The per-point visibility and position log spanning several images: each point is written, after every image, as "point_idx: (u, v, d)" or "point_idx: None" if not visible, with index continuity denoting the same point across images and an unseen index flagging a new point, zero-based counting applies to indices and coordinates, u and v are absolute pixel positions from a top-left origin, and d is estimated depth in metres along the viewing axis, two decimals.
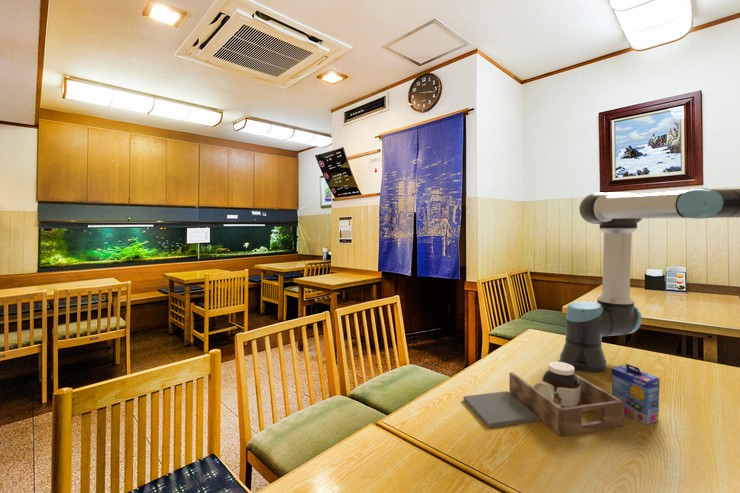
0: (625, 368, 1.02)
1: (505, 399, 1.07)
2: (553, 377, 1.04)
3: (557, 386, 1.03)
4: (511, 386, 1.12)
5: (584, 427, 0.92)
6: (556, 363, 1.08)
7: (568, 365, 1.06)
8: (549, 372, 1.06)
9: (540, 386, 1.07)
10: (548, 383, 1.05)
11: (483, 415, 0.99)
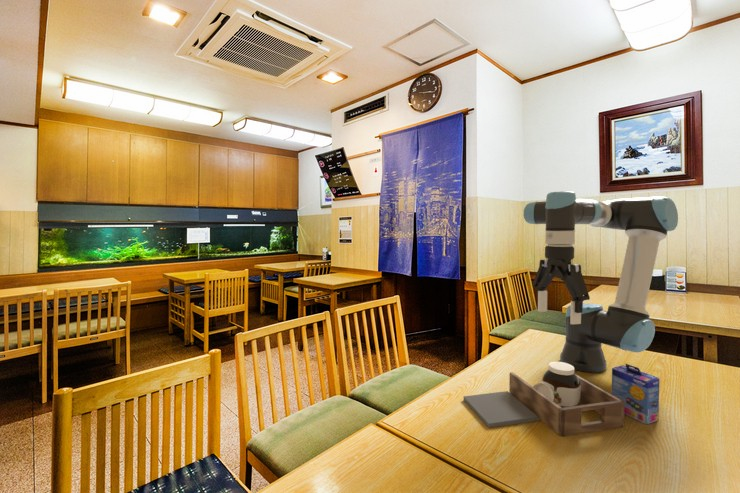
0: (625, 368, 1.02)
1: (505, 399, 1.07)
2: (553, 377, 1.04)
3: (557, 386, 1.03)
4: (511, 386, 1.12)
5: (584, 427, 0.92)
6: (556, 363, 1.08)
7: (568, 365, 1.06)
8: (549, 372, 1.06)
9: (540, 386, 1.07)
10: (548, 383, 1.05)
11: (483, 415, 0.99)
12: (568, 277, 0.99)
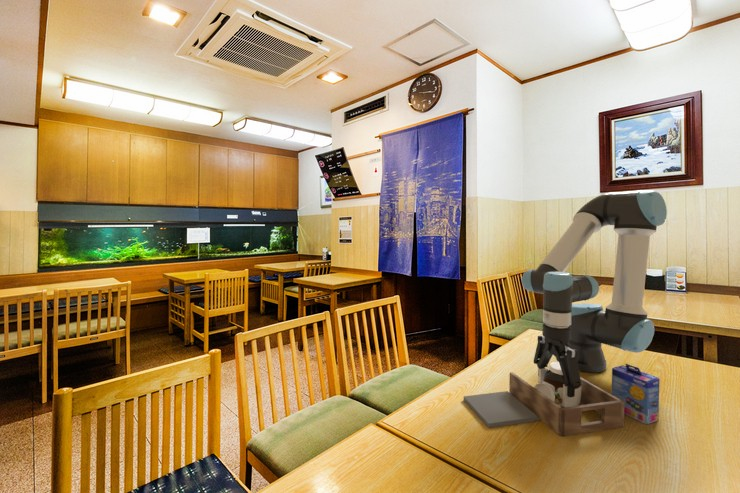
0: (625, 368, 1.02)
1: (505, 399, 1.07)
2: (554, 377, 1.04)
3: (558, 387, 1.03)
4: (511, 386, 1.12)
5: (584, 427, 0.92)
6: (557, 363, 1.07)
7: None
8: (550, 372, 1.06)
9: (541, 386, 1.07)
10: (549, 383, 1.05)
11: (483, 415, 0.99)
12: (564, 359, 1.01)
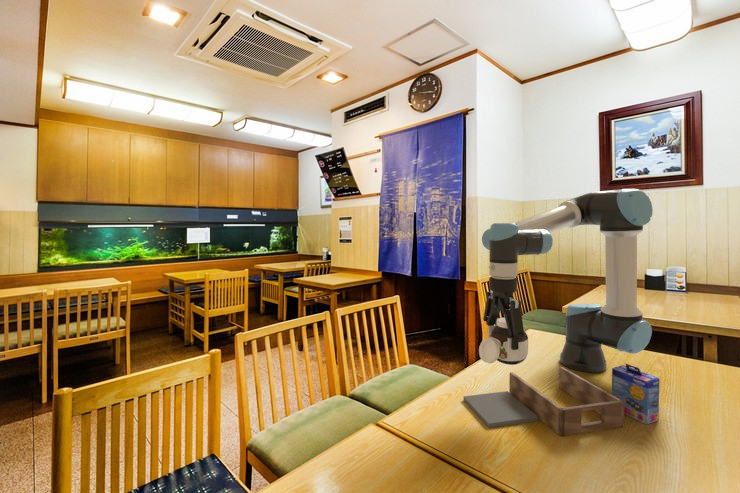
0: (625, 368, 1.02)
1: (505, 399, 1.07)
2: (500, 331, 1.00)
3: (503, 341, 0.99)
4: (511, 386, 1.12)
5: (584, 427, 0.92)
6: (504, 319, 1.04)
7: None
8: (497, 327, 1.02)
9: (488, 342, 1.03)
10: (495, 338, 1.01)
11: (483, 415, 0.99)
12: (509, 311, 0.98)
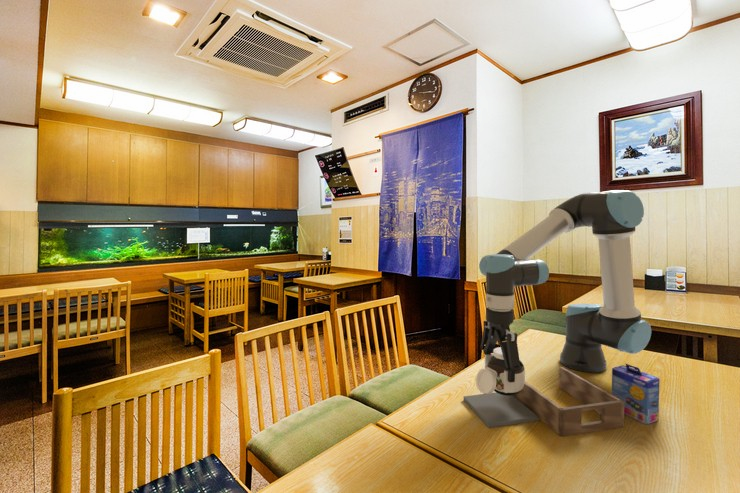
0: (625, 368, 1.02)
1: (505, 399, 1.07)
2: (496, 362, 1.01)
3: (500, 372, 1.00)
4: None
5: (584, 427, 0.92)
6: None
7: None
8: (494, 358, 1.03)
9: (484, 372, 1.04)
10: (492, 369, 1.02)
11: (483, 415, 0.99)
12: (505, 343, 0.99)
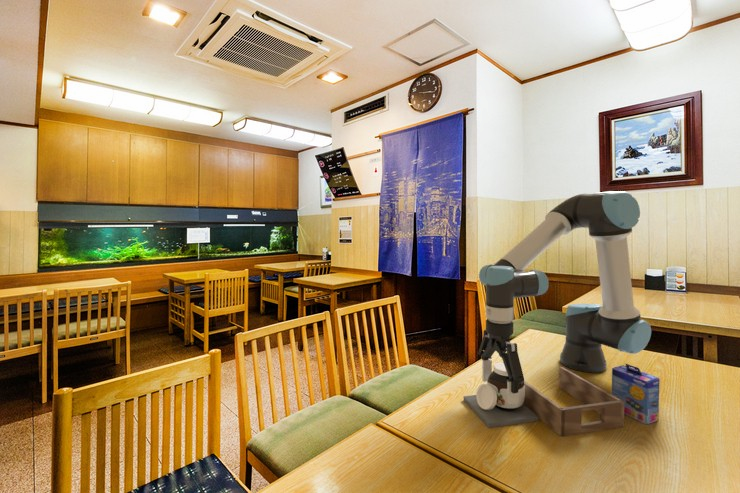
0: (625, 368, 1.02)
1: None
2: (497, 378, 1.02)
3: (500, 388, 1.01)
4: None
5: (584, 427, 0.92)
6: (501, 364, 1.05)
7: None
8: (494, 373, 1.03)
9: (485, 387, 1.04)
10: (492, 384, 1.03)
11: (483, 415, 0.99)
12: (506, 354, 0.98)
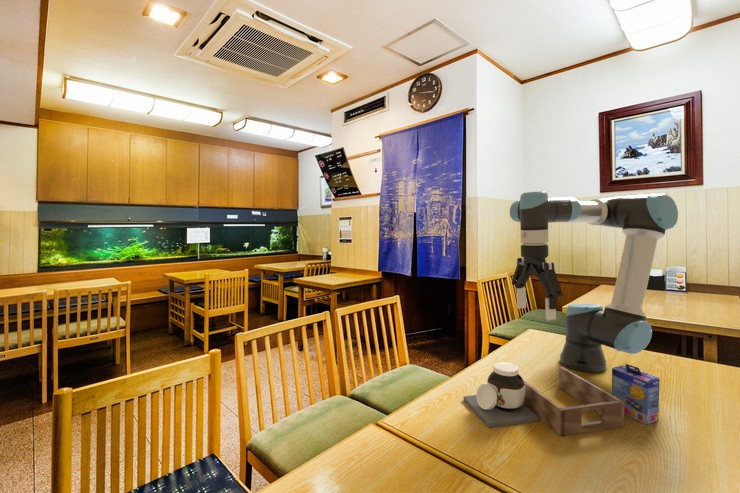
0: (625, 368, 1.02)
1: None
2: (497, 378, 1.02)
3: (500, 388, 1.01)
4: None
5: (584, 427, 0.92)
6: (501, 364, 1.05)
7: (513, 366, 1.03)
8: (494, 373, 1.03)
9: (485, 387, 1.04)
10: (492, 384, 1.02)
11: (483, 415, 0.99)
12: (543, 275, 1.02)
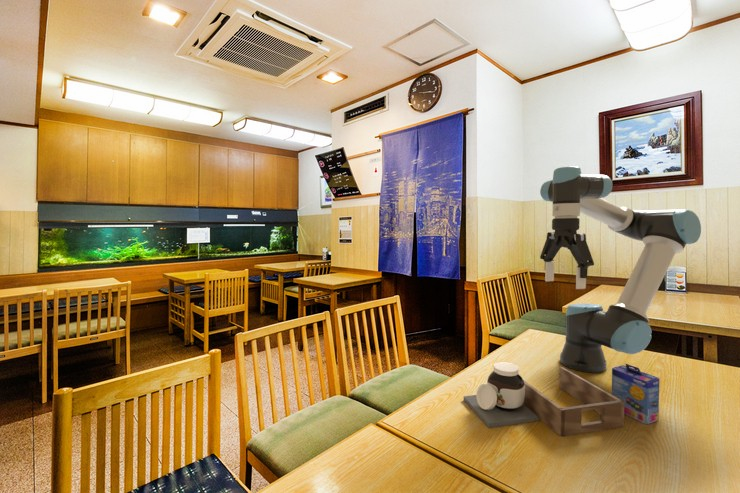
0: (625, 368, 1.02)
1: None
2: (497, 378, 1.02)
3: (500, 388, 1.01)
4: None
5: (584, 427, 0.92)
6: (501, 364, 1.05)
7: (513, 366, 1.03)
8: (494, 373, 1.03)
9: (485, 387, 1.04)
10: (492, 384, 1.02)
11: (483, 415, 0.99)
12: (574, 246, 1.07)
